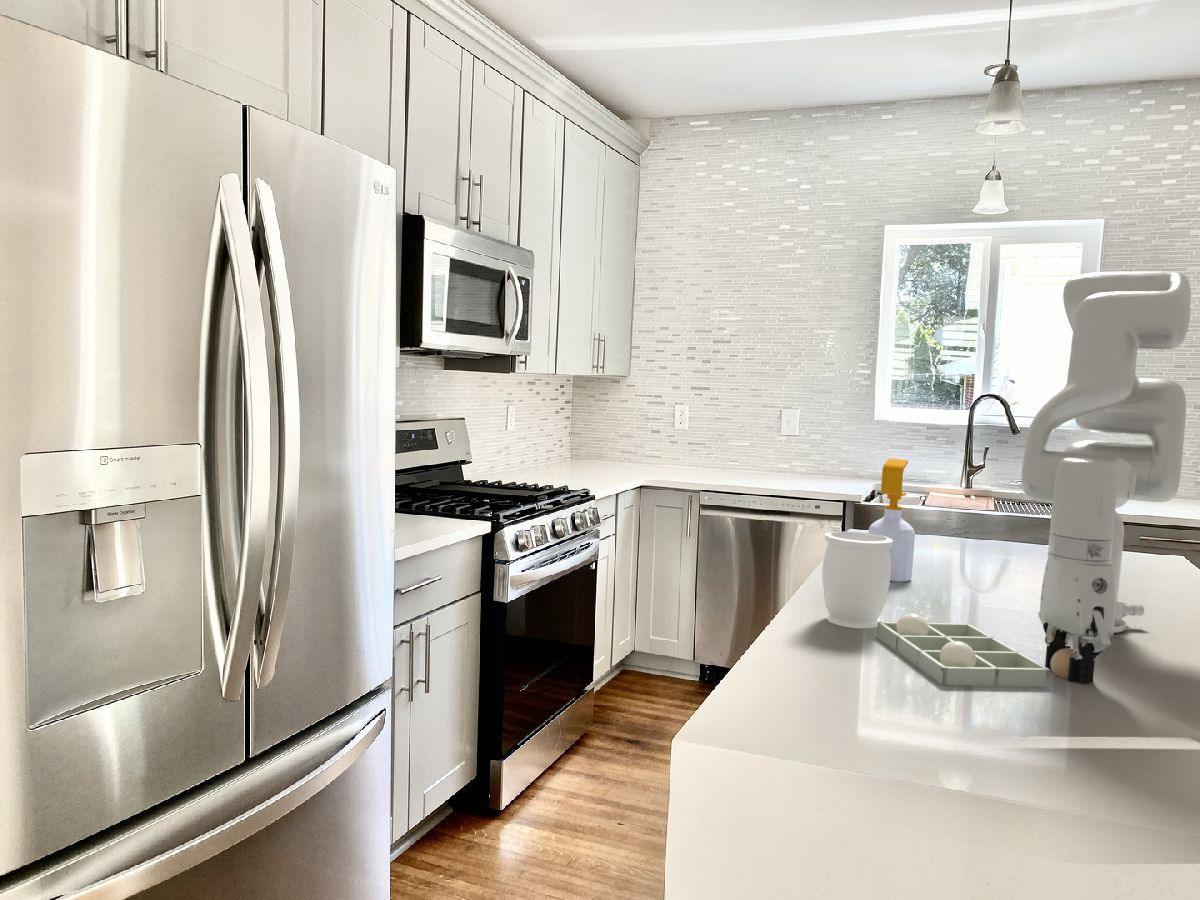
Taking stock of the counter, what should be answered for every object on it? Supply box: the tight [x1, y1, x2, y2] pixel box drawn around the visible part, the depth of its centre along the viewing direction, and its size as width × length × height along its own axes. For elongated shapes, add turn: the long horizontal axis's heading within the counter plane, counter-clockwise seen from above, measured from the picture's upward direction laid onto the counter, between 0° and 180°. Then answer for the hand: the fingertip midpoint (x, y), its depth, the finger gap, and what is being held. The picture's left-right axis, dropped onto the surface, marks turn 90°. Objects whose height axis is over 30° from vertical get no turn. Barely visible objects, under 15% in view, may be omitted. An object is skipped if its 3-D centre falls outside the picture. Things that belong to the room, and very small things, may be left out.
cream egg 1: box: [896, 612, 929, 636], centre depth 133 cm, size 5×5×5 cm
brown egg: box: [1050, 647, 1074, 680], centre depth 122 cm, size 5×5×5 cm
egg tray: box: [876, 621, 1052, 688], centre depth 127 cm, size 15×22×3 cm
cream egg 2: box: [939, 641, 976, 667], centre depth 119 cm, size 5×5×5 cm
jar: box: [821, 531, 893, 629], centre depth 144 cm, size 11×10×15 cm
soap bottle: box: [868, 458, 916, 583], centre depth 184 cm, size 9×9×25 cm
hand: (1067, 679), depth 122 cm, fingers closed on brown egg, 4 cm apart
